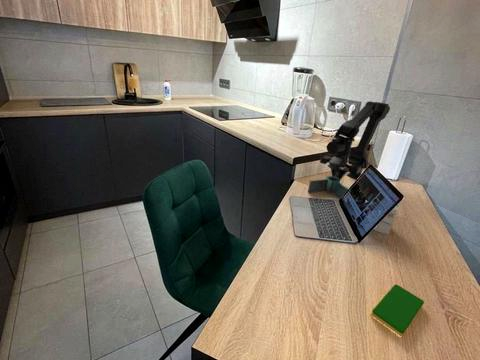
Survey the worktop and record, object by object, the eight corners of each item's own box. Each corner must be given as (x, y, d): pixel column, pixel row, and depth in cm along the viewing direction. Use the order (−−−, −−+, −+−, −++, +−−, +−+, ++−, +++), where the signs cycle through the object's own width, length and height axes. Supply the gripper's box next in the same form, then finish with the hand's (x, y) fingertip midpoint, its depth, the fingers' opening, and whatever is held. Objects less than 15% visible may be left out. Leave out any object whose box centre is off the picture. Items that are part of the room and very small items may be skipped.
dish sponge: (369, 317, 63) (372, 310, 62) (392, 289, 72) (395, 283, 71) (400, 340, 59) (403, 333, 58) (421, 307, 67) (425, 301, 66)
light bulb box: (390, 226, 99) (399, 202, 94) (388, 235, 94) (398, 210, 89) (360, 217, 104) (367, 193, 99) (357, 225, 99) (365, 200, 94)
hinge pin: (334, 181, 134) (337, 166, 130) (339, 183, 132) (343, 168, 129) (331, 182, 132) (335, 168, 128) (337, 184, 130) (340, 170, 127)
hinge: (321, 183, 130) (323, 172, 127) (354, 196, 120) (358, 184, 117) (307, 192, 121) (309, 180, 118) (342, 206, 110) (345, 194, 108)
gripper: (317, 148, 125) (311, 178, 131) (356, 160, 113) (347, 191, 120) (328, 144, 132) (322, 172, 139) (365, 154, 121) (357, 184, 128)
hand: (336, 180), depth 131 cm, fingers closed on hinge pin, 3 cm apart
